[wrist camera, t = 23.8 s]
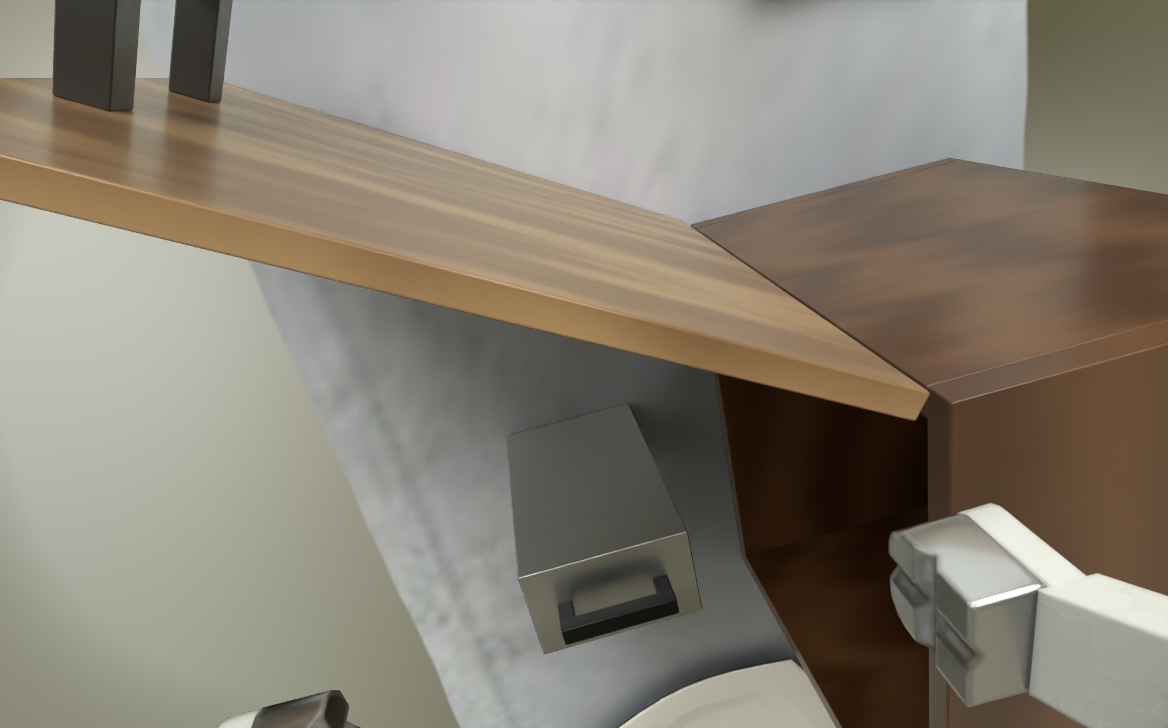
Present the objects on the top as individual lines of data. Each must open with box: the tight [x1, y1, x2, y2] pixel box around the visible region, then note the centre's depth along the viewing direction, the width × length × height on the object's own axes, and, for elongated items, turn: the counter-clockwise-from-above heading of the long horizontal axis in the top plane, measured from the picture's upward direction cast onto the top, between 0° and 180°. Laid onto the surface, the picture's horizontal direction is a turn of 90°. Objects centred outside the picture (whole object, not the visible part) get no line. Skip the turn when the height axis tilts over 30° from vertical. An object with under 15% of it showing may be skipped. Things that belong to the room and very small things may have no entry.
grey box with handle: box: [506, 404, 702, 654], centre depth 41 cm, size 6×9×17 cm, turn 103°
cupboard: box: [691, 158, 1168, 728], centre depth 38 cm, size 18×28×26 cm, turn 13°
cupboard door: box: [0, 0, 930, 421], centre depth 27 cm, size 7×28×26 cm, turn 73°
